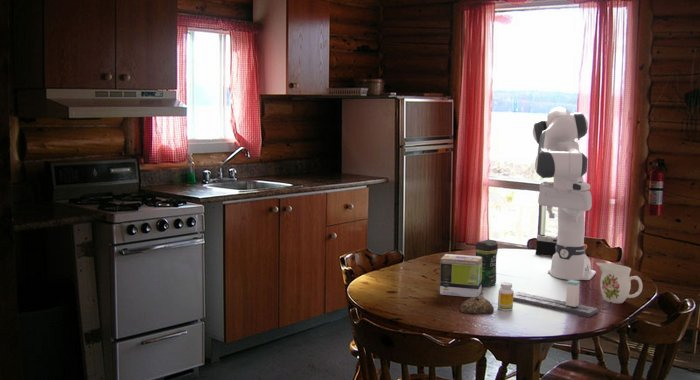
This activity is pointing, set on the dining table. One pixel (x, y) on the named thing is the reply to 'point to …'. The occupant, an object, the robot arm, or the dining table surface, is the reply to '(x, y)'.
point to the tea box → (461, 275)
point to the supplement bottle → (505, 297)
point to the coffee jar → (487, 260)
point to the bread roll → (477, 306)
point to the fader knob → (572, 293)
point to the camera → (546, 245)
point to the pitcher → (617, 282)
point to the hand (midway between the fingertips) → (563, 219)
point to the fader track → (554, 304)
